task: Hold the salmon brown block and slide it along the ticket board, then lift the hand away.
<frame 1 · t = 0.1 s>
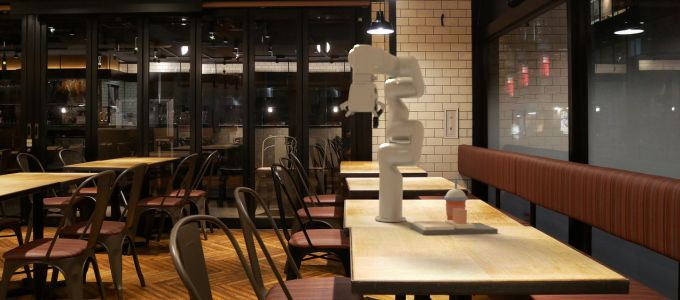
hand: (362, 128, 216), 37 cm above the table, tool pointing down, fingers open, 9 cm apart
ticket board: (453, 230, 223), on the table
salmon brown block: (459, 217, 223), point 5 cm above the table, slide at 0.0 cm
cup with straw: (455, 223, 242), on the table
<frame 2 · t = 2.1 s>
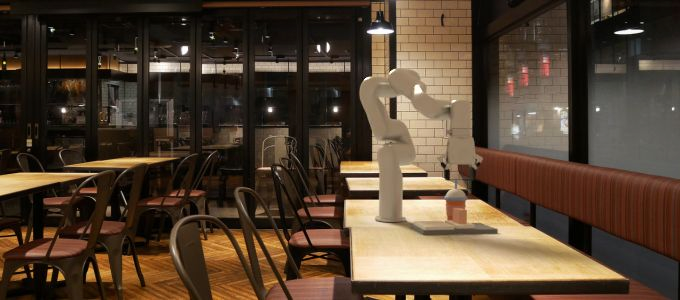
hand: (459, 180, 222), 19 cm above the table, tool pointing down, fingers open, 9 cm apart
nothing on the table moved.
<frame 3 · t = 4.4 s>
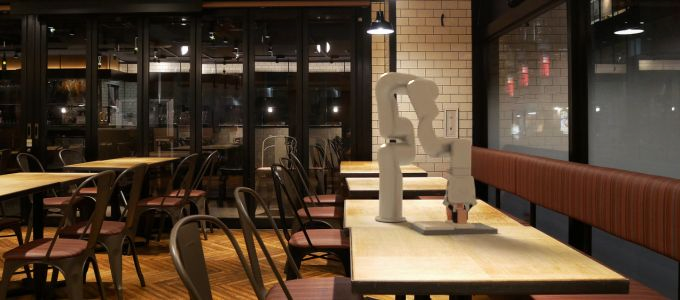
hand: (459, 221, 223), 3 cm above the table, tool pointing down, fingers closed on salmon brown block, 3 cm apart
salmon brown block: (459, 217, 223), point 5 cm above the table, slide at 0.0 cm, touching gripper
everything else where it was.
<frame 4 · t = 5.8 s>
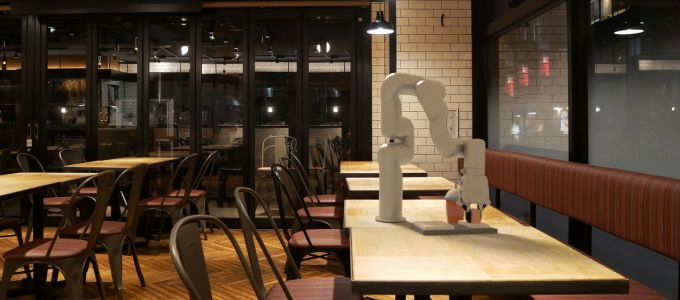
hand: (473, 221, 224), 3 cm above the table, tool pointing down, fingers closed on salmon brown block, 3 cm apart
salmon brown block: (473, 217, 224), point 5 cm above the table, slide at 5.4 cm, touching gripper
everything else where it was.
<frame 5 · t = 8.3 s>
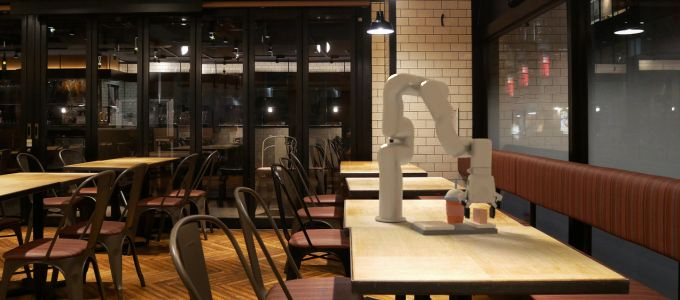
hand: (479, 218, 225), 4 cm above the table, tool pointing down, fingers open, 9 cm apart
salmon brown block: (480, 217, 224), point 5 cm above the table, slide at 8.0 cm
everything else where it was.
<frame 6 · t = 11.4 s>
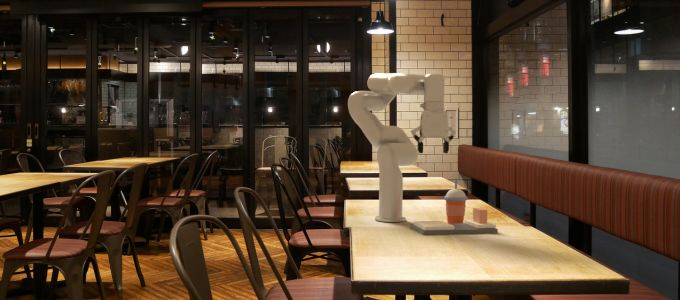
hand: (433, 153, 227), 28 cm above the table, tool pointing down, fingers open, 9 cm apart
nothing on the table moved.
at the end: salmon brown block slide at 8.0 cm; the gripper is holding nothing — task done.
